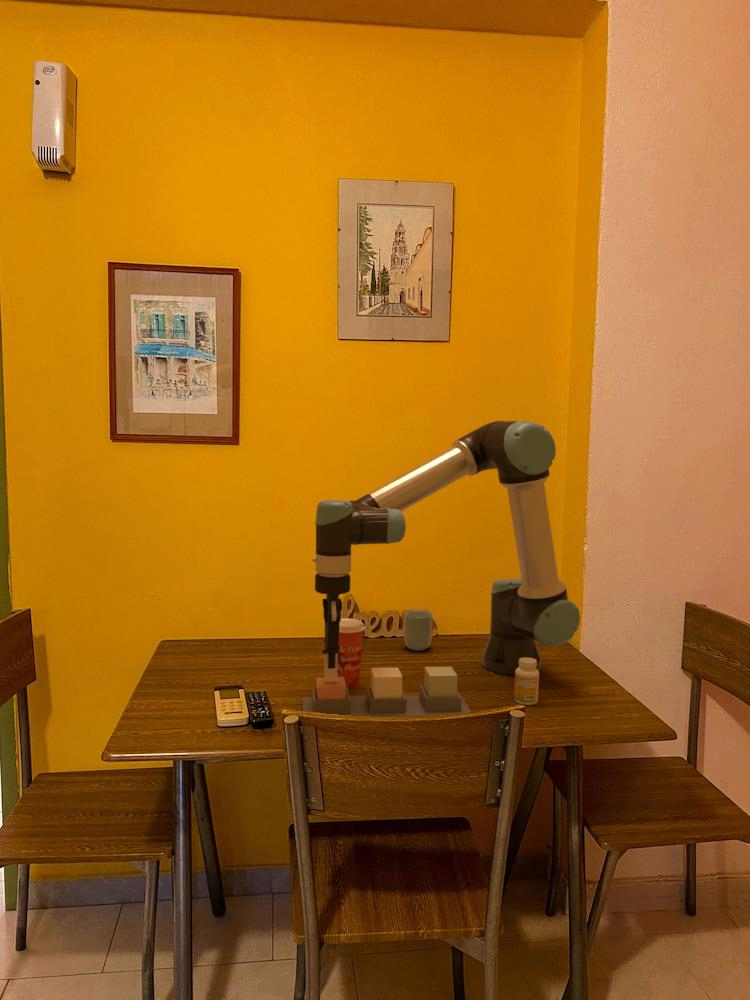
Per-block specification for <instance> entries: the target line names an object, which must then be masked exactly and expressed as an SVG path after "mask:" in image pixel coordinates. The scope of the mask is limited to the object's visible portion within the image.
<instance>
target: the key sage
mask: <svg viewBox="0 0 750 1000" xmlns="http://www.w3.org/2000/svg"><path fill="white" fill-rule="evenodd" d="M423 686H424V690H425V691H426V693H427V695H428V697H457V691H458V674H457V673H456V671H455V670H454V669H453V667H452V666H424V681H423Z"/></svg>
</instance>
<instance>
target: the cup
mask: <svg viewBox="0 0 750 1000" xmlns="http://www.w3.org/2000/svg"><path fill="white" fill-rule="evenodd" d="M433 617H434V616H433V613H432V612H430V611H426V610H418V609H417V610H415V609H414V610H412V609H411V610H407V611H406V612H405V613H404V621H403V624H404V626H403V636H404V637H403V638H404V643H405V645H406V647H407V648H408V649H409V650H411V651H418V652H420V651H425V650H427V649H428V648H429V647H430V645H431V642H432V635H433V619H434V618H433Z"/></svg>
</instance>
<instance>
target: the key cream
mask: <svg viewBox="0 0 750 1000" xmlns="http://www.w3.org/2000/svg"><path fill="white" fill-rule="evenodd" d="M370 687H371V692H372V696H373V699H383V698H402V690H403V675H402V673H401V671H400V669H399V667H371V668H370Z"/></svg>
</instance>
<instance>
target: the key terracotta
mask: <svg viewBox="0 0 750 1000" xmlns="http://www.w3.org/2000/svg"><path fill="white" fill-rule="evenodd" d="M315 686H316V687H315V688H316V700H339V699H346V684H345V680H344V677H337V682H324V676H323V677H316V685H315Z"/></svg>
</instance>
